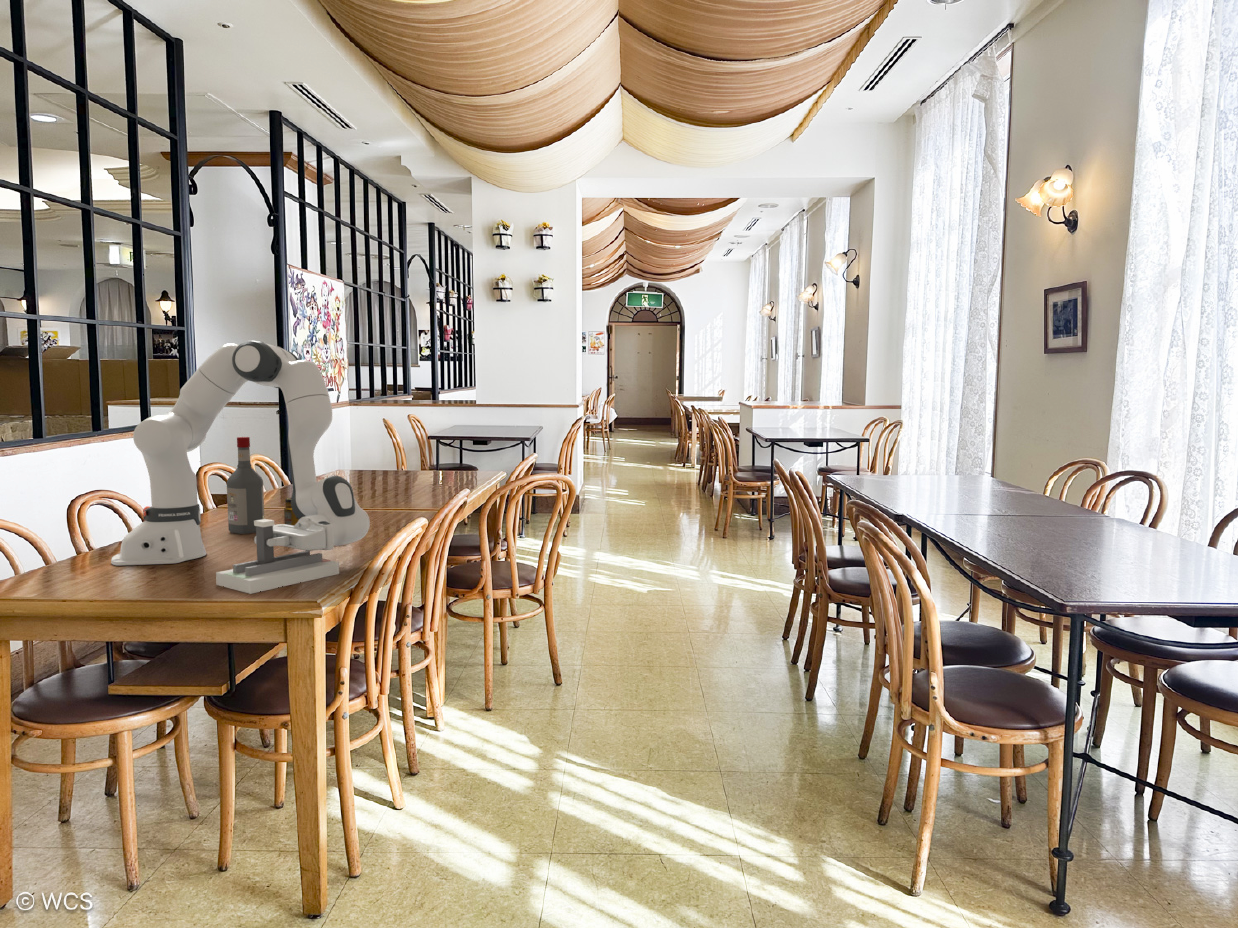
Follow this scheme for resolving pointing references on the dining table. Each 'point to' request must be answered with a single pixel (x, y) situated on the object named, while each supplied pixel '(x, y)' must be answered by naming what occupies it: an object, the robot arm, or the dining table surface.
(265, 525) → the handle
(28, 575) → the dining table surface
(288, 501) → the condiment
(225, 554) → the dining table surface
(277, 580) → the box
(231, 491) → the liquor
